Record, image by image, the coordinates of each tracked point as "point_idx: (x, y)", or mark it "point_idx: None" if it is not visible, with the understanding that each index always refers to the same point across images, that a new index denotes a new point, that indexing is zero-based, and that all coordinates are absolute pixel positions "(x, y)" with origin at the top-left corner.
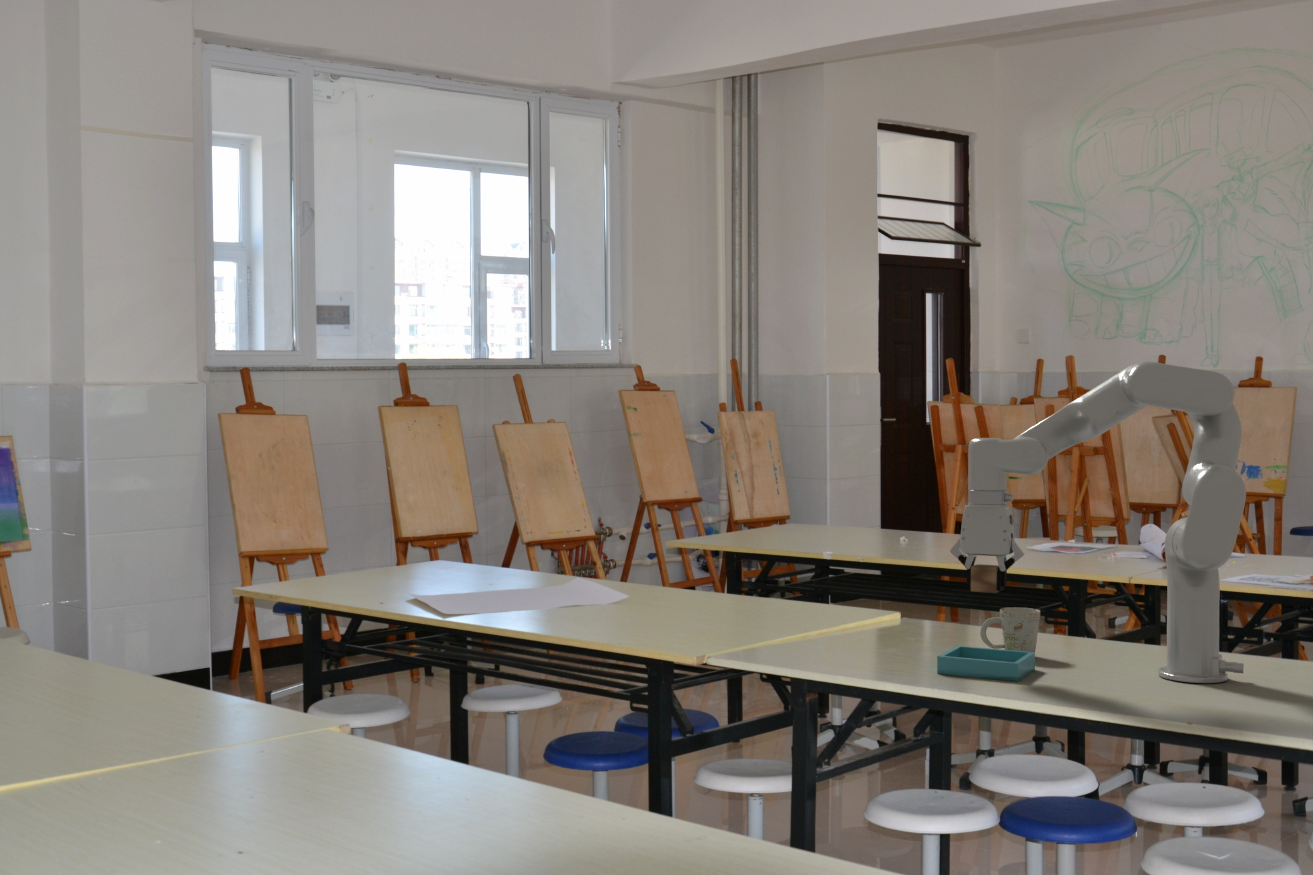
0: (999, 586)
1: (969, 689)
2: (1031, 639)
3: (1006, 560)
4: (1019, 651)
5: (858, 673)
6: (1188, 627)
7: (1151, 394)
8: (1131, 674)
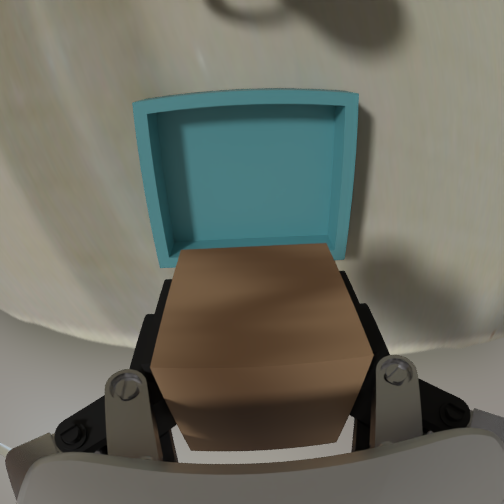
0: None
1: None
2: None
3: (414, 419)
4: (318, 97)
5: (74, 305)
6: None
7: None
8: (498, 78)
